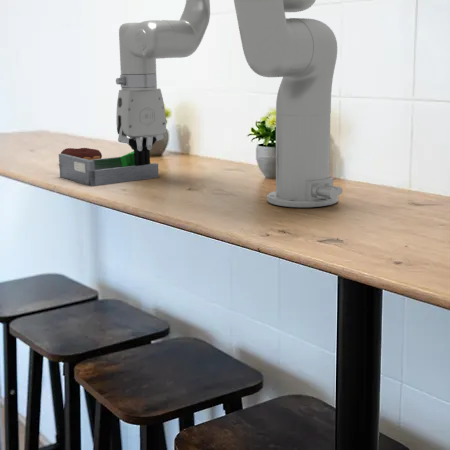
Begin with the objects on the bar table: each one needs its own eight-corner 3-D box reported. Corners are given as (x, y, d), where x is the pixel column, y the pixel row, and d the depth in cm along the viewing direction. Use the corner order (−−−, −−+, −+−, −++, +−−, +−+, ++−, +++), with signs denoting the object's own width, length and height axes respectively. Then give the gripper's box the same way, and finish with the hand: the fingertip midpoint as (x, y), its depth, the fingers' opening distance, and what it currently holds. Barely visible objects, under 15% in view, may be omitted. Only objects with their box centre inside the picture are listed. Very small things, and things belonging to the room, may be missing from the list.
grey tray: (158, 177, 166) (157, 154, 165) (90, 186, 157) (88, 161, 156) (124, 169, 178) (123, 147, 177) (59, 176, 169) (57, 154, 168)
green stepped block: (141, 174, 168) (136, 153, 167) (125, 177, 169) (120, 157, 168) (155, 165, 179) (150, 146, 178) (140, 168, 180) (135, 149, 179)
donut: (106, 166, 185) (105, 149, 184) (65, 169, 181) (64, 152, 180) (97, 160, 194) (96, 145, 193) (57, 163, 190) (56, 147, 189)
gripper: (116, 84, 157) (120, 174, 162) (178, 81, 166) (180, 166, 170) (99, 83, 163) (103, 169, 167) (159, 80, 172) (162, 162, 176)
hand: (142, 168), depth 169 cm, fingers closed
